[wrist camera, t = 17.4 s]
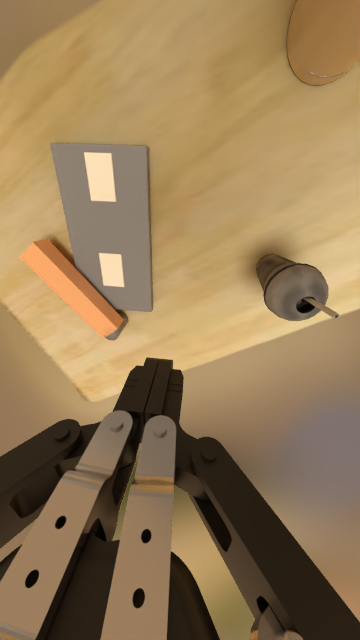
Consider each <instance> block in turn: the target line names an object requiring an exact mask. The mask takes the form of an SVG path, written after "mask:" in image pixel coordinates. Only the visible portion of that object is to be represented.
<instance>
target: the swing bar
mask: <svg viewBox="0 0 360 640" xmlns="http://www.w3.org/2000/svg"><path fill="white" fill-rule="evenodd" d="M20 258H21V259H22V260H23V261H24V262H25V263H26V264H27V265H28V266H29V267H30V268H31V269H32V270H33V271H34V272H35V273H36V274H37V275H38V276H39V277H40V278H42V279H43V280H44V281H45V282H46V283H47V284H48V285H49V286H50V287H51V288H52V289H53V290H54V291H55V292H56V293H57V294H58V295H59V296H60V297H61V298H62V299H63V300H64V301H65V302H66V303H67V304H68V305H69V306H70V307H71V308H72V309H74V310H75V311H76V312H77V313H78V314H79V315H80V316H81V317H82V318H83V319H84V320H85V321H86V322H87V323H88V324H89V325H90V326H91V327H92V328H93V329H94V330H95V331H96V332H97V333H98V334H99V335H100V336H101V337H102V338H107V339H108V340H116V339H117V338H118V336H119V335H120V333H121V331H122V330H123V328H124V323H123V320H124V319H123V318H122V317H121V316H120V315H119V314H118V313H117V312H116V311H115V310H114V309H113V308H112V307H111V306H110V305H109V303H108V302H107V301H106V300H105V299H104V298H103V297H102V296H101V295H100V294H99V293H98V292H97V291H96V290H95V289H94V288H93V286H92V285H91V284H90V283H89V282H88V281H87V280H86V279H85V278H84V277H83V276H82V275H81V274H80V273H79V272H78V271H77V270H76V268H75V267H74V266H73V265H72V264H71V263H70V262H69V261H68V260H67V259H66V258H65V257H64V256H63V255H62V254H61V253H60V252H59V250H58V249H57V248H56V247H55V246H54V245H53V244H52V243H51V242H50V241H49V240H48V239H44V240H40V241H36V242H33V243H32V244H31V245H30V246H29V247H28V248H27V250H26V251H25V252H24V253H23V254H22V255H21V256H20Z"/></svg>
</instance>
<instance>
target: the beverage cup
mask: <svg viewBox="0 0 360 640" xmlns="http://www.w3.org/2000/svg"><path fill="white" fill-rule="evenodd" d="M256 270H257V275H258V278H259V281H260V283H261V286H262V288H263V291H264V301H265V304H266V306H267V307H268V309H269V310H270V311H272V312H273V313H274V314H276V315H277V316H278V317H280V318H283V319H286V320H289V321H301V320H306V319H309V318H311V317H313V316H315V315H316V314H317V313H318V312H320V311H321V310H322V311H323V312H325V313H327V314H328V315H330V316H331V317H333V318H335V319H337V318H339V316H340V315H339V314H338V313H336V312H335V311H333V310H331V309H329V308H328V307H326V306H325V304H326V301H327V299H328V285H327V283H326V280H325V278H324V276H322V273H321V272H320V271H319V270H318V269H316V268H315V267H313V266H311V265H308V264H301V263H295V262H293V261H291V260H288V259H286V258H283V257H281V256H278V255H274V254H270V255H267V256H265V257H263V258H262V259H261V260H260V261H259V262H258V264H257V268H256Z"/></svg>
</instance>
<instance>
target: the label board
mask: <svg viewBox="0 0 360 640" xmlns="http://www.w3.org/2000/svg"><path fill="white" fill-rule="evenodd" d="M50 145H51V150H52V154H53V159H54V164H55V169H56V174H57V179H58V183H59V188H60V193H61V198H62V203H63V208H64V213H65V217H66V222H67V227H68V232H69V237H70V242H71V246H72V251H73V256H74V261H75V266H76V270H77V271H78V272H79V273H80V274H81V275H82V276H83V277H84V278H85V279H86V280H87V281H88V282H89V283H90V284H91V285H92V286H93V288H94V289H95V290H96V291H97V292H98V293H99V294H100V295H101V296H102V297H103V298H104V299H105V300H106V301H107V302H108V303H109V305H110V306H111V307H112V308H113V309H121V310H133V311H144V312H152V310H153V289H152V252H151V214H150V177H149V148H148V147H147V146H144V145H108V144H71V143H50ZM118 314H119V315H120V316H121V317H122V318H123V319H124V320H123V323H124V327H125V325H126V324H127V322H128V317H127V316H126V314H124V313H121V312H119V313H118Z"/></svg>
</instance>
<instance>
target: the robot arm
mask: <svg viewBox="0 0 360 640" xmlns="http://www.w3.org/2000/svg"><path fill="white" fill-rule="evenodd" d="M287 52H288V59H289V62H290V65H291V68H292V70H293V71H294V73H295V75H296V76H297V77H298V78H299V79H300V80H301V81H303V82H305V83H307V84H310V85H324V84H327V83H330V82H332V81H334V80H336V79H337V78H339V77H340V76H342V75H343V74H344V73H346V72H347V71H348V70H349V69H350V68H351V67H352V66H353V65H354V64H356V63H357V62H358V61H359V60H360V0H297V2H296V4H295V7H294V10H293V13H292V16H291V19H290V23H289V28H288V33H287ZM182 393H183V375H182V372H181V370H175V369H173V360H168V359H157V358H146V360H145V363H144V366H136V367H135V368H134V369H133V370H131V371H130V373H129V376H128V378H127V380H126V383H125V385H124V387H123V389H122V392H121V394H120V396H119V399H118V401H117V403H116V405H115V408H114V410H113V412H111V413H109V414H108V415H107V416H105V417H104V419H103V420H102V421H101V422H98V423H95V424H90V425H85V426H80V425H79V423H78V422H77V421H75V420H72V419H66V420H62V421H59V422H57V423H56V424H54V425H52V426H51V427H49V428H47V429H46V430H44V431H42V432H41V433H39V434H37V435H36V436H34V437H32V438H31V439H29V440H27V441H26V442H24V443H22V444H21V445H19V446H17V447H16V448H14V449H12V450H11V451H9V452H8V453H6V454H4V455H3V456H1V457H0V548H1V547H3V546H4V545H5V544H6V543H8V542H9V541H10V540H11V539H12V538H13V537H15V536H16V535H17V534H18V533H20V532H21V531H22V530H23V529H24V528H26V527H27V526H28V525H29V524H30V523H32V522H33V521H34V520H35V519H36V518H38V519H37V520H36V522H35V524H34V525H33V527H32V529H31V531H30V532H29V534H28V536H27V538H26V539H25V541H24V542H23V544H22V545H21V546H19V547H18V548H16V549H15V550H14V551H12V552H11V553H10V554H9V555H8V556H7V557H5V558H4V559H3V560H2V561H1V562H0V640H220V639H219V636H218V634H217V631H216V629H215V626H214V624H213V622H212V619H211V616H210V614H209V612H208V609H207V607H206V604H205V602H204V600H203V597H202V595H201V592H200V589H199V587H198V585H197V582H196V581H195V579H194V577H193V575H192V573H191V572H190V570H189V569H188V567H187V566H186V565H185V564H184V562H183V561H182V560H181V559H180V558H179V557H178V556H177V555H176V554H174V553H173V552H171V534H172V513H173V491H174V485H176V486H178V487H179V488H181V489H183V490H184V491H186V492H188V494H189V497H190V499H191V500H192V502H193V504H194V506H195V508H196V510H197V512H198V513H199V515H200V517H201V519H202V521H203V522H204V524H205V526H206V528H207V530H208V532H209V534H210V536H211V537H212V539H213V541H214V543H215V545H216V547H217V549H218V551H219V552H220V554H221V556H222V558H223V560H224V562H225V564H226V565H227V567H228V569H229V571H230V573H231V575H232V576H233V578H234V580H235V582H236V584H237V586H238V588H239V590H240V591H241V593H242V595H243V597H244V599H245V600H246V602H247V604H248V606H249V608H250V610H251V612H252V614H253V615H254V617H255V621H254V622H253V625H252V627H251V631H250V637H249V640H360V622H359V621H358V620H357V618H356V617H355V616H354V614H353V613H352V612H351V610H350V609H349V608H348V606H347V605H346V604H345V603H344V601H343V600H342V599H341V598H340V596H339V595H338V594H337V592H336V591H335V590H334V589H333V587H332V586H331V585H330V584H329V582H328V581H327V579H326V578H325V577H324V576H323V574H322V573H321V572H320V570H319V569H318V568H317V567H316V565H315V564H314V563H313V561H312V560H311V559H310V558H309V556H308V555H307V554H306V552H305V551H304V550H303V549H302V548H301V546H300V545H299V544H298V542H297V541H296V540H295V538H294V537H293V536H292V534H291V533H290V532H289V531H288V529H287V528H286V527H285V525H284V524H283V523H282V522H281V520H280V519H279V518H278V516H277V515H276V514H275V513H274V511H273V510H272V509H271V507H270V506H269V505H268V504H267V502H266V501H265V500H264V498H263V497H262V496H261V495H260V493H259V492H258V491H257V489H256V488H255V487H254V486H253V484H252V483H251V482H250V480H249V479H248V478H247V477H246V475H245V474H244V473H243V472H242V470H241V469H240V468H239V466H238V465H237V464H236V462H235V461H234V460H233V459H232V457H231V456H230V455H229V453H228V452H227V451H226V450H225V448H224V447H223V446H222V445H221V443H220V442H218V441H217V440H216V439H214V438H210V437H202V438H199V439H196V438H194V437H192V436H190V435H188V434H187V433H185V432H184V431H183V430H182V428H181V426H180V424H179V420H180V411H181V402H182ZM139 443H141V449H140V454H139V460H138V465H137V471H136V476H135V479H134V481H133V482H132V485H131V488H130V492H129V497H128V502H127V508H126V512H125V517H124V523H123V528H122V533H121V538H120V540H117V541H112V540H113V537H114V534H115V530H116V526H117V522H118V516H119V510H120V506H121V503H122V500H123V497H124V494H125V491H126V488H127V485H128V483H129V479H130V476H131V474H132V471H133V468H134V465H135V462H136V454H137V450H138V447H139Z"/></svg>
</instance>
